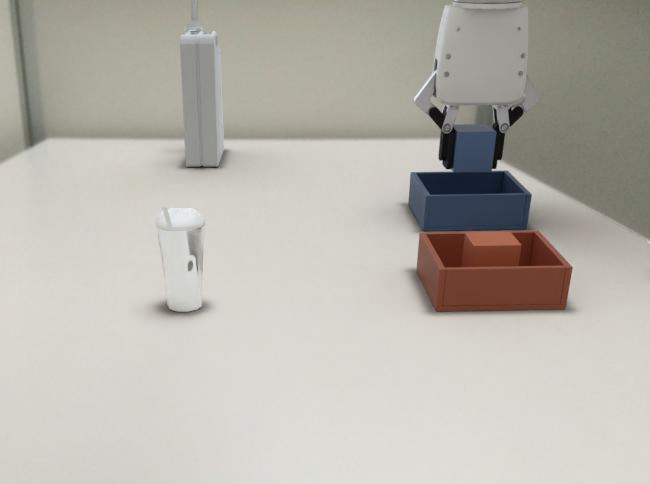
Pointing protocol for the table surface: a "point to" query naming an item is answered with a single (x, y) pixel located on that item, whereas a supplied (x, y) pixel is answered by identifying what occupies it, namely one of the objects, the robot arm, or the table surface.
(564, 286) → the terracotta bin
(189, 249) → the milkshake
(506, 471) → the table surface
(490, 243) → the terracotta block
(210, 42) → the jerry can
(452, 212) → the slate bin
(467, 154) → the slate block
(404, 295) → the table surface
